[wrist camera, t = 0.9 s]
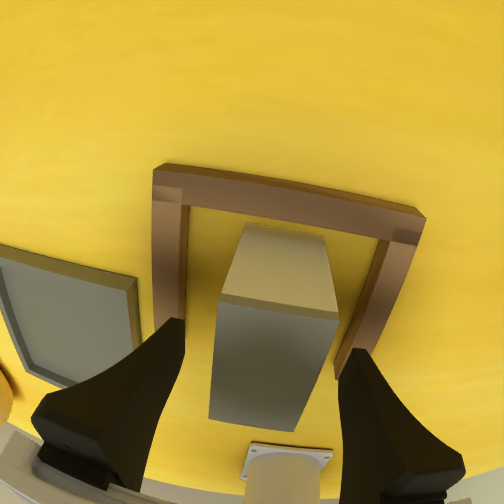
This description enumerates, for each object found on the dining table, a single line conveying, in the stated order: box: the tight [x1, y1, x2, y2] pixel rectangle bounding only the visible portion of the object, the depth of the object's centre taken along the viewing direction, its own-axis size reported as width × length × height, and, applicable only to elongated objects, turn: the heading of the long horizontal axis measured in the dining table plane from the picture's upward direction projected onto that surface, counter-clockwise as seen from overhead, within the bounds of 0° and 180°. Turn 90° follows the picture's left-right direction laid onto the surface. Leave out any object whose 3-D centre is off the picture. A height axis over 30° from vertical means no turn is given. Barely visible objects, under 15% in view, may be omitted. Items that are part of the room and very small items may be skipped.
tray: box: [0, 244, 142, 389], centre depth 21 cm, size 14×14×2 cm
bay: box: [152, 163, 426, 380], centre depth 17 cm, size 11×13×2 cm
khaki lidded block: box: [209, 222, 340, 432], centre depth 15 cm, size 7×4×7 cm, turn 172°
